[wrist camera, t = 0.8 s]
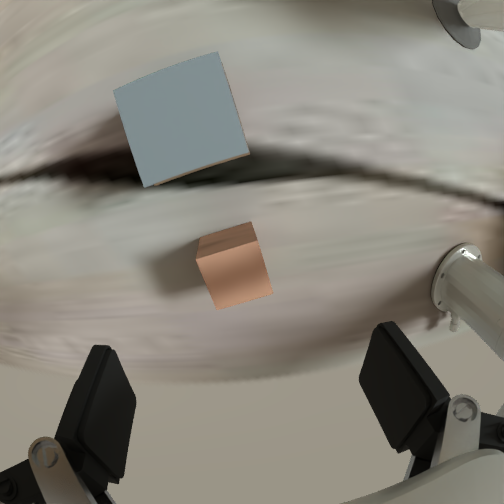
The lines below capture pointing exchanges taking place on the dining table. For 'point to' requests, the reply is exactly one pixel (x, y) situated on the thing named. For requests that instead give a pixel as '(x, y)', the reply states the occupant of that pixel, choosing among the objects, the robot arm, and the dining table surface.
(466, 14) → the cup
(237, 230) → the terracotta cube
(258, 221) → the dining table surface
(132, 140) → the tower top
